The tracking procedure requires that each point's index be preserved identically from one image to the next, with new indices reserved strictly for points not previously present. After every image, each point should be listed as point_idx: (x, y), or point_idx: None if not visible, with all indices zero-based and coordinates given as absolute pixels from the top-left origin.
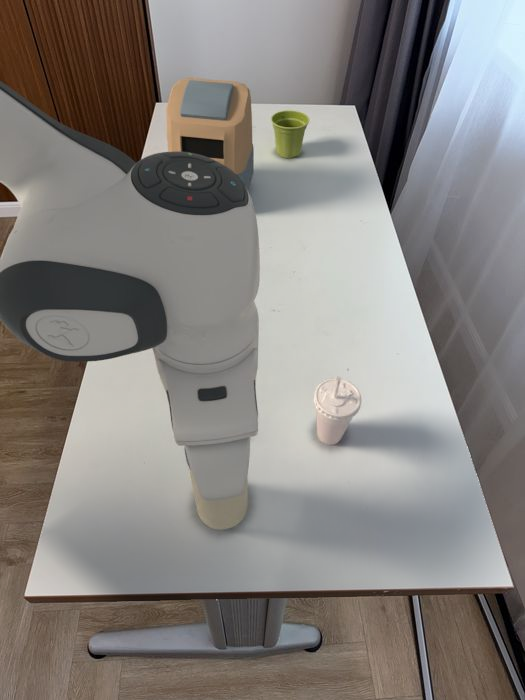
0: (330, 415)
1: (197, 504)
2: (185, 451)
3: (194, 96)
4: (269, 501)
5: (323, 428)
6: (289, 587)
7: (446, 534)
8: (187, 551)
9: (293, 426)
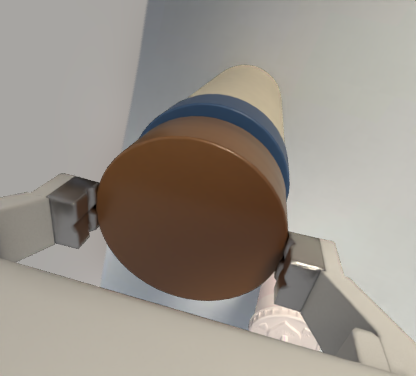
0: (260, 316)
1: (227, 72)
2: (211, 105)
3: None
4: None
5: (272, 278)
6: (122, 146)
7: (141, 290)
8: (193, 32)
9: (314, 235)
